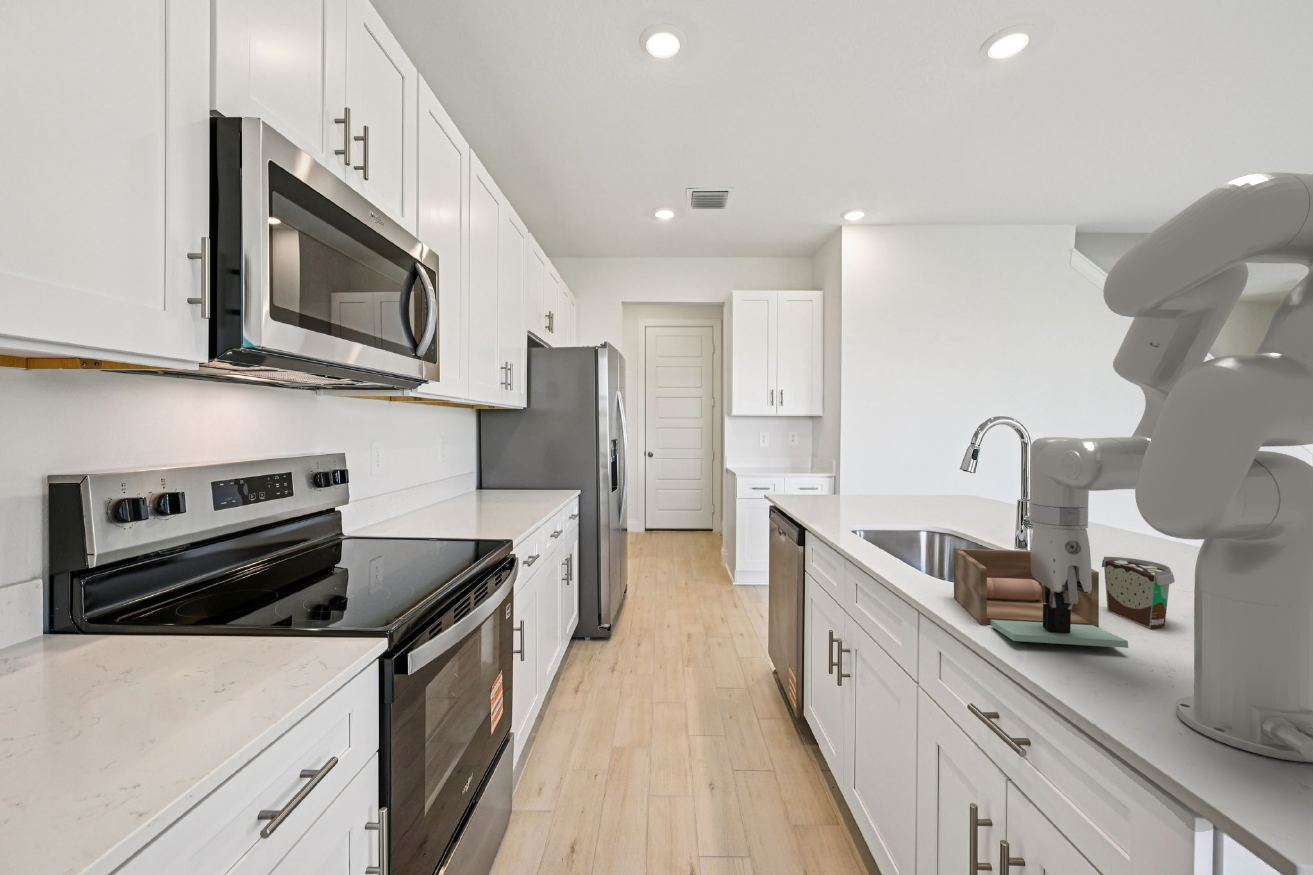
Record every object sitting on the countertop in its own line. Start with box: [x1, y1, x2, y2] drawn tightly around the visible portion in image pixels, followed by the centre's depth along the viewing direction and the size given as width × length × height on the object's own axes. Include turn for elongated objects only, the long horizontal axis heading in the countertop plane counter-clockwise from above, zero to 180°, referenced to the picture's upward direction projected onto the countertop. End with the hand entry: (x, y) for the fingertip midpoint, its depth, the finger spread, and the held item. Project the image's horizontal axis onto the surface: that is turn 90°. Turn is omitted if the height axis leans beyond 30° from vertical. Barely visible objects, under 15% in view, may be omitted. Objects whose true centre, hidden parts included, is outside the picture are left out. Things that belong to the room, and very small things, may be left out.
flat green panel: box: [990, 620, 1129, 649], centre depth 92 cm, size 1×15×10 cm
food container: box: [1101, 556, 1176, 630], centre depth 101 cm, size 12×6×10 cm, turn 179°
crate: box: [953, 547, 1100, 628], centre depth 105 cm, size 16×18×10 cm
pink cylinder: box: [987, 578, 1042, 601], centre depth 110 cm, size 4×11×4 cm, turn 77°
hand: (1056, 630), depth 90 cm, fingers closed
